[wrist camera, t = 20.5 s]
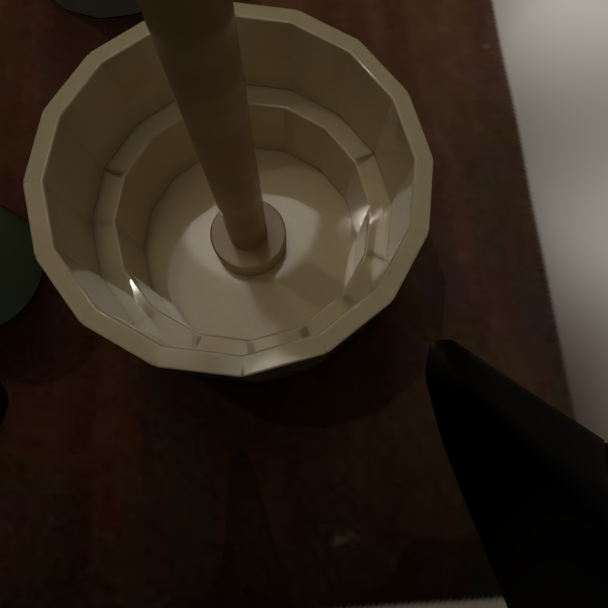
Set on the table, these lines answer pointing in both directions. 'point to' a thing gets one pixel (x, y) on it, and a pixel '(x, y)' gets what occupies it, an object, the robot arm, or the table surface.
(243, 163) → the stirring stick
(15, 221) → the green cylinder pedestal
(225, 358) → the mixing bowl
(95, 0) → the cup
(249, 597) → the table surface
